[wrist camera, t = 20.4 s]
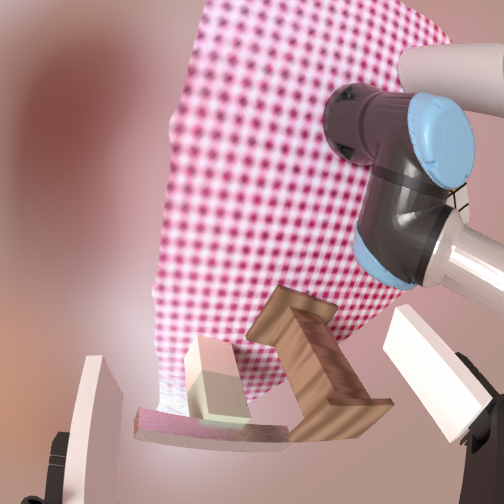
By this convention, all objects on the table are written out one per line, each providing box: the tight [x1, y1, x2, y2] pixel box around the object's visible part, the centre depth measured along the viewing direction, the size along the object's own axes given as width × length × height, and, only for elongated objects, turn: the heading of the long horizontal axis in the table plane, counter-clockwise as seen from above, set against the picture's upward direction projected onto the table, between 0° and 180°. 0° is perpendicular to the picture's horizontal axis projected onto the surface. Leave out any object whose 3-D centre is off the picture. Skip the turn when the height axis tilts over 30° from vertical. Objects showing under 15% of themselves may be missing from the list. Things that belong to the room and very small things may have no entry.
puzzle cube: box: [446, 182, 470, 225], centre depth 53 cm, size 10×10×10 cm
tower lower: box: [184, 334, 240, 393], centre depth 58 cm, size 8×8×10 cm
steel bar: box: [134, 407, 292, 452], centre depth 43 cm, size 28×4×4 cm, turn 62°
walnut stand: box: [246, 285, 394, 443], centre depth 51 cm, size 16×14×28 cm
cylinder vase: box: [398, 43, 504, 118], centre depth 34 cm, size 12×12×25 cm
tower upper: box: [187, 370, 251, 424], centre depth 49 cm, size 8×8×10 cm
